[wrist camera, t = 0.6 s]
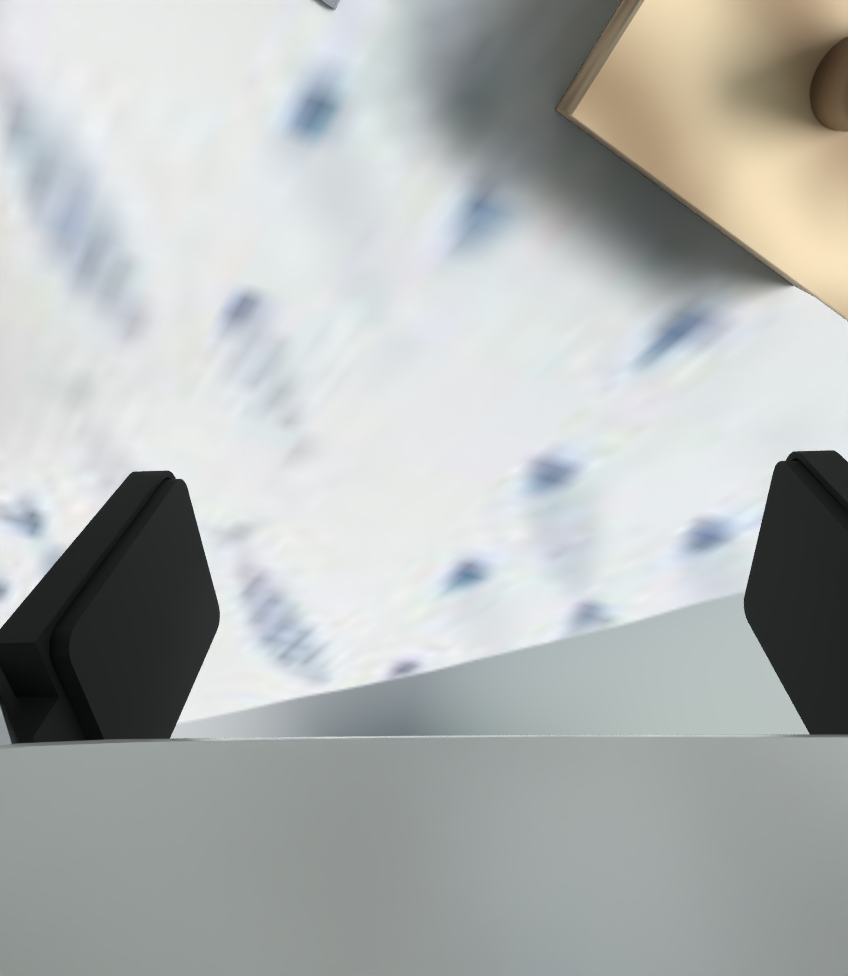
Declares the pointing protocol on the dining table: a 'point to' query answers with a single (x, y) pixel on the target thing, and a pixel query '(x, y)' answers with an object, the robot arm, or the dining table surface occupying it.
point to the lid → (740, 122)
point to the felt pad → (331, 3)
